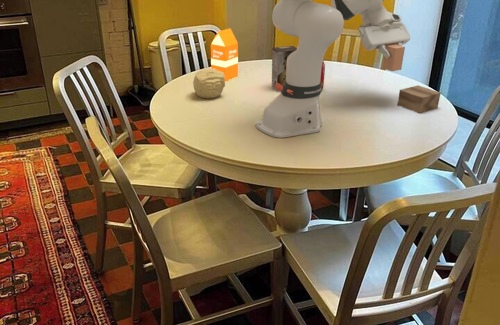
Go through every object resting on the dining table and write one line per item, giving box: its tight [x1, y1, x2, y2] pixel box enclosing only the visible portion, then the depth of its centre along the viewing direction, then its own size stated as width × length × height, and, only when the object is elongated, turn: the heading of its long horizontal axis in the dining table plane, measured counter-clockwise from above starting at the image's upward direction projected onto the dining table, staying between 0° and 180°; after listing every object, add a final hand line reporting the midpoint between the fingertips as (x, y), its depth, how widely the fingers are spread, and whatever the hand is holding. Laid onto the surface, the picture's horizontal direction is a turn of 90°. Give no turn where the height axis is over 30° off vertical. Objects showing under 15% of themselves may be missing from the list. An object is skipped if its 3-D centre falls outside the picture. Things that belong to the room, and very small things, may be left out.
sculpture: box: [192, 68, 226, 99], centre depth 182 cm, size 11×12×11 cm
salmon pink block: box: [381, 44, 406, 72], centre depth 168 cm, size 5×5×8 cm
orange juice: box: [210, 28, 239, 82], centre depth 201 cm, size 8×9×20 cm
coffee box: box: [271, 45, 297, 93], centre depth 190 cm, size 9×6×16 cm
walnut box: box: [397, 85, 441, 114], centre depth 175 cm, size 10×10×6 cm
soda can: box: [320, 59, 326, 91], centre depth 189 cm, size 7×7×12 cm
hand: (395, 56), depth 167 cm, fingers closed on salmon pink block, 5 cm apart
